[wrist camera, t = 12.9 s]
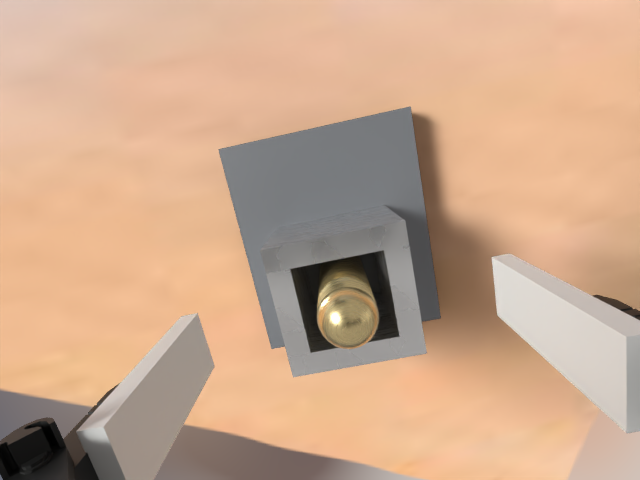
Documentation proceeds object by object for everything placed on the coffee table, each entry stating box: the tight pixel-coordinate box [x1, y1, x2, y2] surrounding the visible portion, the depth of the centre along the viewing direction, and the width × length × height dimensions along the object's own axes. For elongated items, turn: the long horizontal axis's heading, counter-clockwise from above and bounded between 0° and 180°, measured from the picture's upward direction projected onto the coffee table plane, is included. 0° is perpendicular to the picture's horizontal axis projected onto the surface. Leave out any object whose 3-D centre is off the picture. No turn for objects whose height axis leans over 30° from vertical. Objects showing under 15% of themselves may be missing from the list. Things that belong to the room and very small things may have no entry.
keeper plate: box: [218, 107, 441, 349], centre depth 23 cm, size 14×12×2 cm
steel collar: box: [260, 205, 427, 377], centre depth 20 cm, size 7×7×6 cm
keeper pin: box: [317, 255, 379, 349], centre depth 18 cm, size 3×3×9 cm
